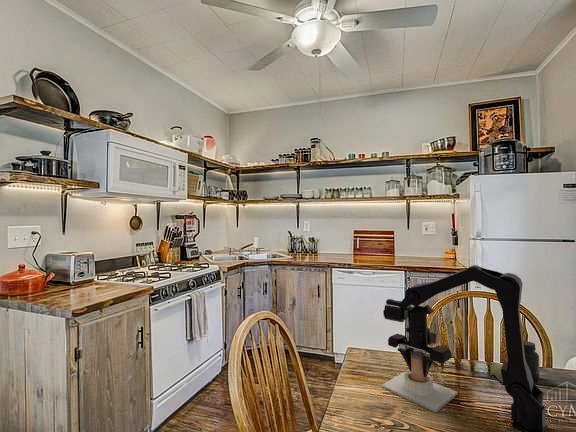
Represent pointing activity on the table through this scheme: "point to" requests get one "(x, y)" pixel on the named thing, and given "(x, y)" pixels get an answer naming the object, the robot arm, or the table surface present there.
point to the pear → (496, 371)
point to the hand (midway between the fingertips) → (418, 373)
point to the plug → (417, 366)
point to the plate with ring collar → (420, 391)
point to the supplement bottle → (532, 360)
